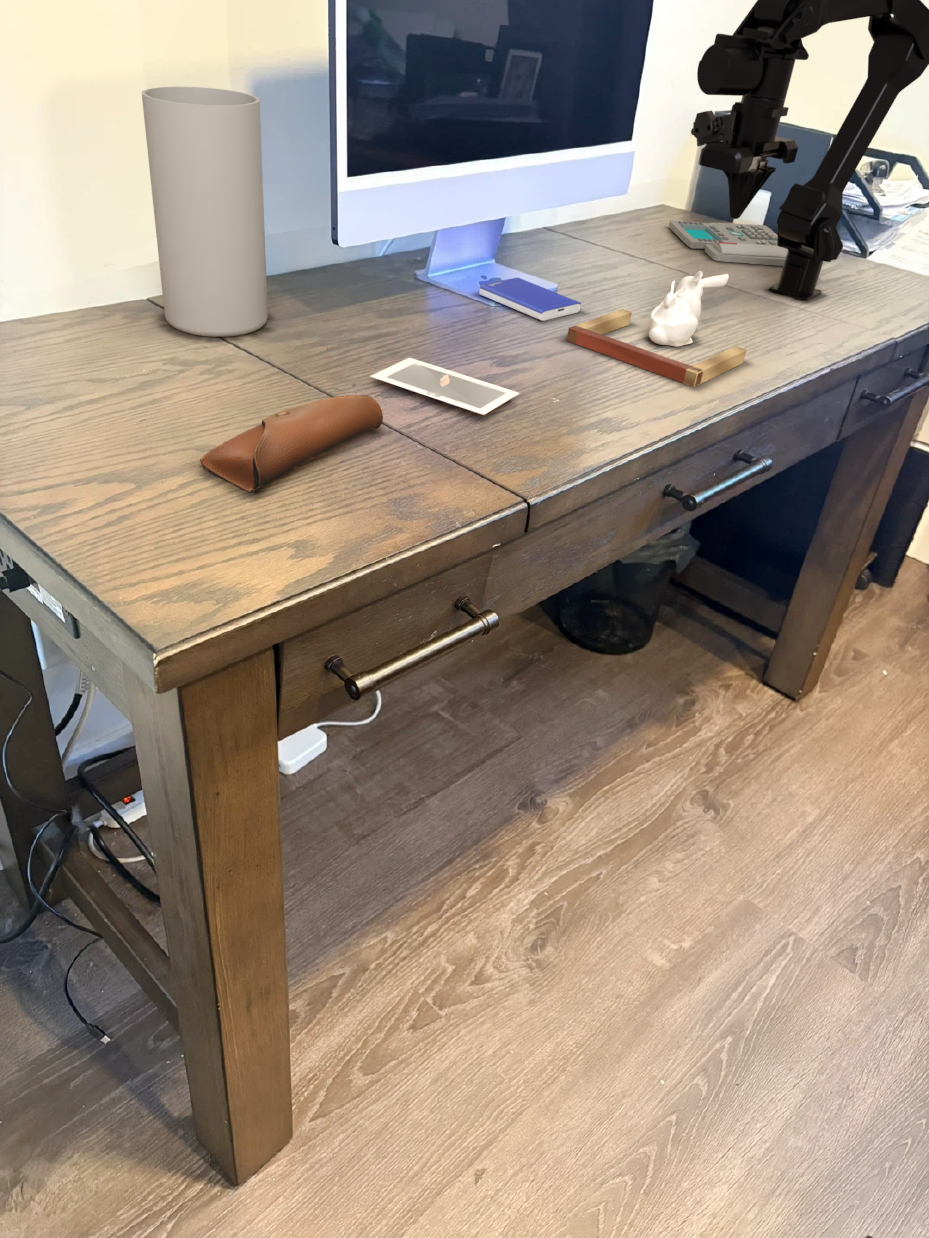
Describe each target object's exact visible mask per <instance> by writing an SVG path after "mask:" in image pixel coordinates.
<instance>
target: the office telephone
mask: <svg viewBox="0 0 929 1238" xmlns="http://www.w3.org/2000/svg"><path fill="white" fill-rule="evenodd" d="M668 228H669V229H670V230H671V231H672V232H673V233H674V234H675V236H677V237H678V238H679V239H680V240H681V241H682V242H683V243H684V244H685V245H686V246H687V247H688V248H690V249H701V250H703V249H704V252H705V254H707V255H708V257H709V258H711V259H712V260H713V261H716V262H726V263H738V264H751V265H752V264H753V265H765V266H778V267H779V266H781V267H783V266H784V262H785V259H786V255H787V252H788V249H785V248H783V247H779V246H777V235H778V233H775V232H774V231H773V230H772V229H771V228H770V227H769V226H767V225H764V224H748V223H734V222H715V221H714V222H713V221H712V222H697V221H683V220H673V219H672V220H669V223H668Z"/></svg>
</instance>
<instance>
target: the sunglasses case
mask: <svg viewBox="0 0 929 1238" xmlns="http://www.w3.org/2000/svg"><path fill="white" fill-rule="evenodd" d="M383 419H384V415H383V410H382V408H381V406H380V404H379V402H378V401H377V400H376V399H375V398H373V397H372V396H370V395H366V394H357V395H356V394H349V395H338V396H333V397H328V398H323V399H318V400H314V401H311V402H308V403H304V404H302V405H299V406H295V407H290V408H287V409H283V410H281V411H279V412H277V413H275V414H272V415H270V416H268V417H267V416H266V417H264V418H262V420H261V424H259V425H257V426H255V427H252V428H250V429H247V430H245V431H244V432H241V433H239V434H237V435H236V436H234V437H232V438H230V439H228V440H226V441H224V442H223V443H221V444H219V445H217V446H216V447H214V448H212V449H211V450H210V451H208V452H207V453H205V454H204V455H203V456H202V457H201V458H199V462H200V464H201V466H202V467H203V468H205V469H206V470H208V471H209V472H211V473H212V474H214V475H215V476H217V477H218V478H220V479H222V480H224V481H225V482H227V483H229V484H232V485H233V486H235V487H237V488H239V489H242V490H243V491H245V492H247V493H255V492H257V491H258V490H259V488H261V487H266V486H268V485H270V484H271V483H273V482H274V481H277V480H279V479H280V478H282V477H283V476H284V475H286V474H288V473H290V472H291V471H293V470H294V469H295V468H297V467H300V466H302V465H303V464H305V463H306V462H308V461H309V460H310V459H312V458H316V457H318V456H320V455H322V454H324V453H326V452H329V451H330V450H332V449H334V448H336V447H338V446H339V445H341V444H344V443H347V442H349V441H351V440H353V439H354V438H356V437H358V436H360V435H362V434H364V433H367V432H369V431H371V430H373V429H377V430H378V429H379V428H380V427H381V426H382V425H383Z"/></svg>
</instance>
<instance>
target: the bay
mask: <svg viewBox="0 0 929 1238" xmlns="http://www.w3.org/2000/svg"><path fill="white" fill-rule="evenodd" d="M632 314H633V312H632V311H630V310H627V309H624V308H622V309H618V310H616V311H612V312H611V313H607V314H604V315H601V316H599V317H596V318H593V319H590V320H587V321H584V322H581V323H578V324H576V325H572V326H570V327H568V330H567V336H566V341H567V342H568V343H571V344H574V345H577V346H579V347H583V348H585V349H588V350H591V351H593V352H596V353H599V354H602V355H605V356H607V357H609V358H613V359H616V360H618V361H621V362H623V363H627V364H630V365H631V366H635V367H638V368H641V369H643V370H645V371H649V372H650V373H654V374H656V375H659V376H662V377H665V378H667V379H671V380H673V381H677V382H679V383H682V384H684V385H687V386H690V387H692V388H696V387H698V386H699V385H701V384H704V383H706V382H707V381H710V380H712V379H714V378H716V377H718V376H720V375H722V374H724V373H726V372H729V371H730V370H732V369H734V368H736V367H738V366H740V365H742V364H744V362H745V358H746V354H747V349H745V348H742V347H740V346H733V347H731V348H729V349H727V350H725V351H723V352H720V353H718V354H716V355H714V356H712V357H709V358H708V359H705V360H702V361H701V362H699V363H697V364H695V365H690V364H687V363H684V362H681V361H679V360H675V359H672V358H669V357H667V356H664V355H662V354H658V353H656V352H653V351H650V350H648V349H644V348H641V347H638V346H637V345H632V344H630V343H628V342H624V341H621V340H618V339H616V338H613V337H610V336H607V335H605V334H608V333H611V332H613V331H616V330H619V329H622V328H624V327H627V326H629V325H631V324H630V323H631V319H632Z"/></svg>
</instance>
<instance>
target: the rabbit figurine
mask: <svg viewBox="0 0 929 1238" xmlns="http://www.w3.org/2000/svg"><path fill="white" fill-rule="evenodd" d="M729 277H730V275H729V274H728V273H723V274H719V275H712V276H707V277H704V278H703V271H702V270H698V271H696V273H695V274H694V275H686V276H685V277H683V278H681V280H680V281H679V283H678V284H677V286H676V289H675V283H676V280H673V281H671V283H670V284H671V285H670V291H669V292H668V293H667V294H666V295H665V296H664V299H663V300H662V301H661V303H660V304H659V305H657V306H655V307H654V308H653V309H652V311H651V314H650V317H649V326H648V327H649V331H648V337H649V339H650V340H651V341H652V342H653V343H655V344H657V345H659V346H672V347H683V346H685V345H690V344H693V342H694V341H693V339H692V336H693V335H694V333H695V332H696V330H697V329H698V325H699V320H700V317H701V315H702V301H701V300H702V297H703V295H704V288H721V287H723V286H725V285H727V282H728V281H729ZM674 290H675V292H674Z"/></svg>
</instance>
